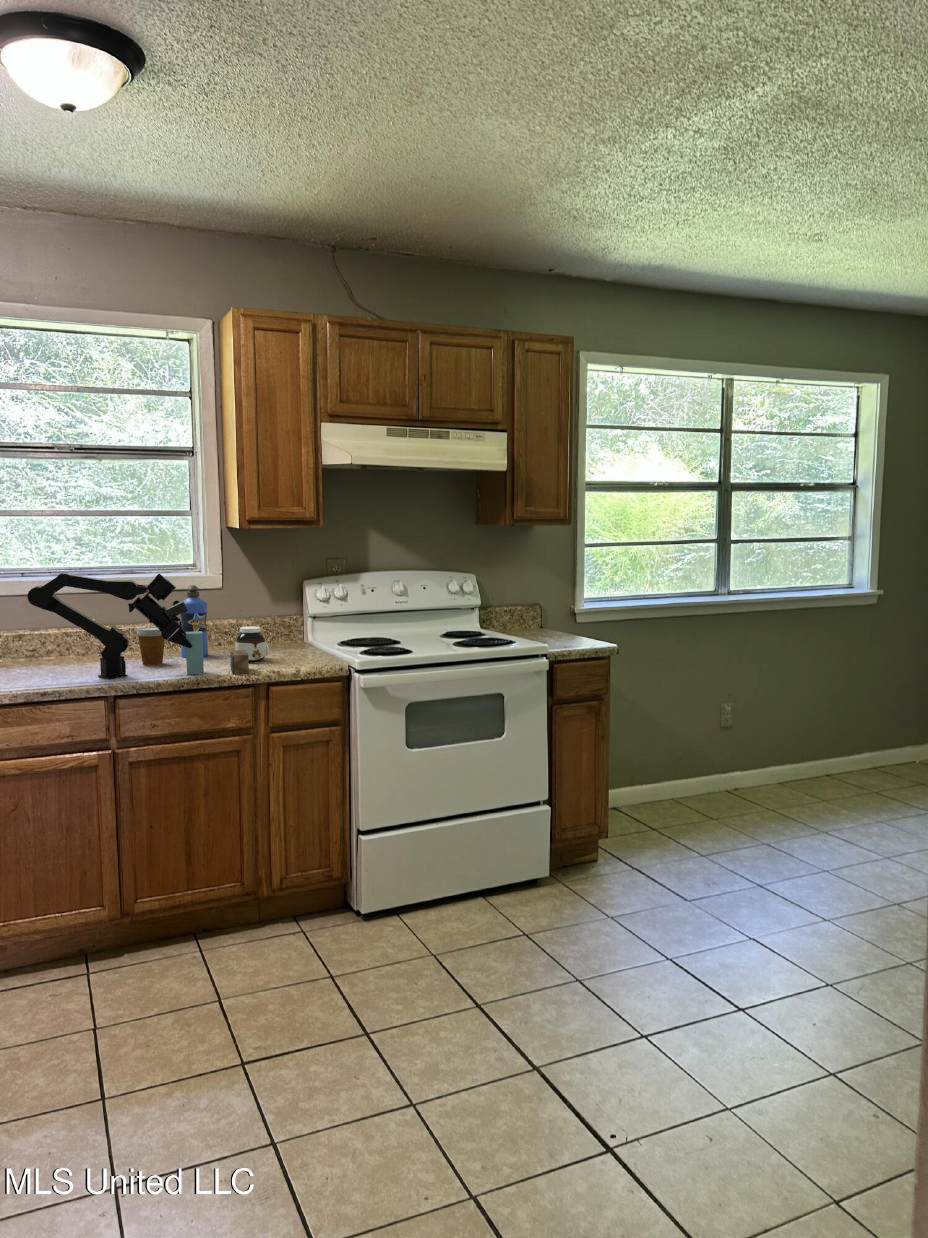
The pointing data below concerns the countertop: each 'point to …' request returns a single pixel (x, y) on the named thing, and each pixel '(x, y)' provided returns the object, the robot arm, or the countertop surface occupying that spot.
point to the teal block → (195, 653)
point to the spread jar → (252, 643)
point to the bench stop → (239, 662)
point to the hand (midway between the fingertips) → (191, 645)
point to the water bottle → (195, 618)
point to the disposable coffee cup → (151, 645)
